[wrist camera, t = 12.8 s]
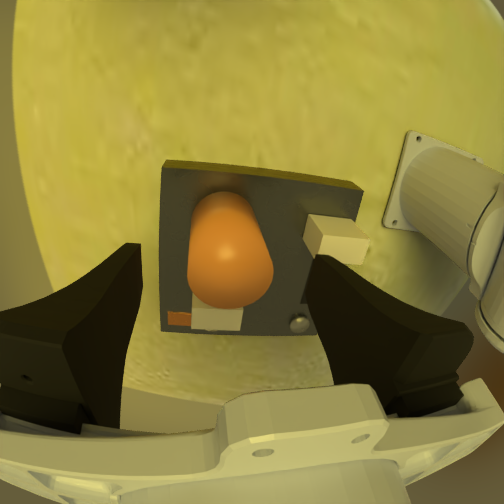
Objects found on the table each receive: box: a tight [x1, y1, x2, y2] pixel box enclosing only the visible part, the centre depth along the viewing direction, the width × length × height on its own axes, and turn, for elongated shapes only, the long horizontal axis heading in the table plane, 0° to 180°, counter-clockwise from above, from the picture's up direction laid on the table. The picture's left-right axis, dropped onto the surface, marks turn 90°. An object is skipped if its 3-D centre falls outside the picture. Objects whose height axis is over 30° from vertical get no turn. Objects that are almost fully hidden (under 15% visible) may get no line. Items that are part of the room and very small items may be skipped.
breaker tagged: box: [191, 293, 243, 331], centre depth 21 cm, size 3×2×3 cm, turn 82°
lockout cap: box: [187, 192, 274, 309], centre depth 17 cm, size 4×4×6 cm
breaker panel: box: [159, 160, 364, 336], centre depth 22 cm, size 13×13×2 cm
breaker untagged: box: [303, 214, 370, 265], centre depth 19 cm, size 3×2×3 cm, turn 81°
